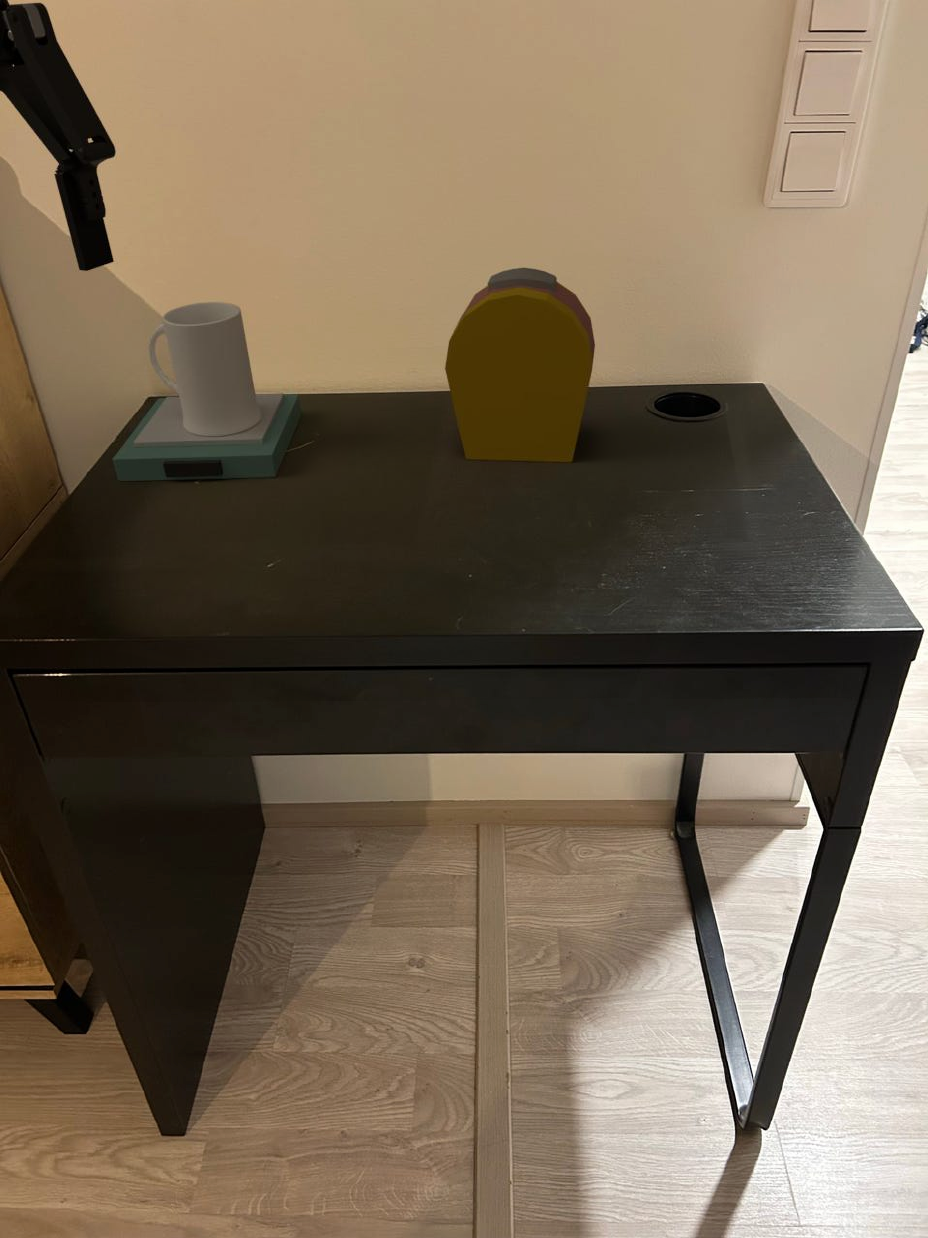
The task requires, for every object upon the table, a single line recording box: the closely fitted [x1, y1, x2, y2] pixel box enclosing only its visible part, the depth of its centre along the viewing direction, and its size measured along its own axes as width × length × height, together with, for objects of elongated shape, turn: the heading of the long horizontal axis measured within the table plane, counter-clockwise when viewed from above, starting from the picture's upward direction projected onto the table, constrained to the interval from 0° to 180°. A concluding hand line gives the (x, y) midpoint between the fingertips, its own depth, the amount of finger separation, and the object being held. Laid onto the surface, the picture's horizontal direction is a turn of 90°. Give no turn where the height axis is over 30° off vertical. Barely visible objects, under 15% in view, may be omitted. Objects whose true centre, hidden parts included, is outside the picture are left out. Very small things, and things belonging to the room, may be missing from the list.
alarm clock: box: [444, 267, 596, 463], centre depth 100 cm, size 15×8×18 cm, turn 81°
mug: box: [148, 301, 261, 436], centre depth 103 cm, size 12×8×12 cm
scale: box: [112, 393, 303, 482], centre depth 107 cm, size 17×18×3 cm
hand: (33, 258), depth 74 cm, fingers open, 13 cm apart
